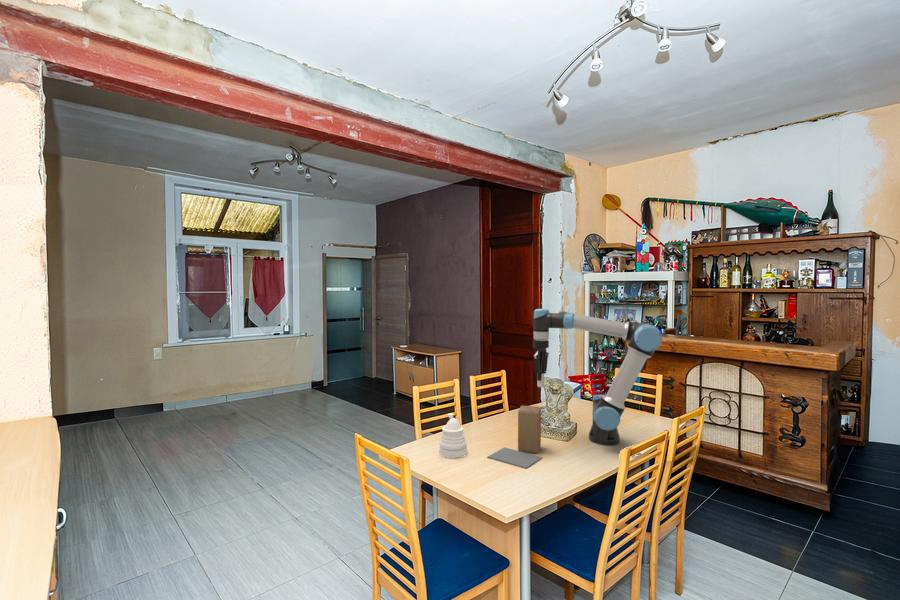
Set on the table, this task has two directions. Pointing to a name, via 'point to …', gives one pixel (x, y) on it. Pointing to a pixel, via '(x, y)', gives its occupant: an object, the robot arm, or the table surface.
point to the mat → (515, 457)
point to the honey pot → (453, 439)
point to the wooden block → (529, 429)
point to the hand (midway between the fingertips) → (540, 386)
